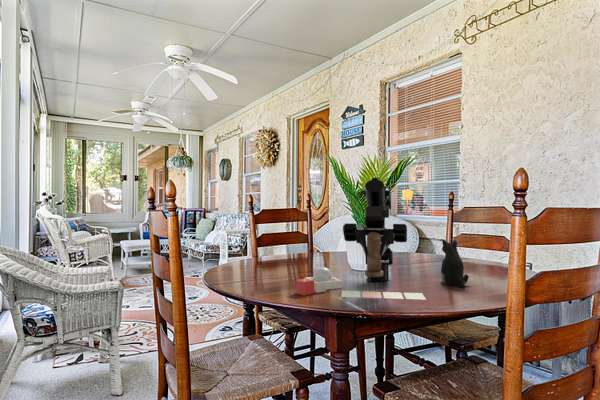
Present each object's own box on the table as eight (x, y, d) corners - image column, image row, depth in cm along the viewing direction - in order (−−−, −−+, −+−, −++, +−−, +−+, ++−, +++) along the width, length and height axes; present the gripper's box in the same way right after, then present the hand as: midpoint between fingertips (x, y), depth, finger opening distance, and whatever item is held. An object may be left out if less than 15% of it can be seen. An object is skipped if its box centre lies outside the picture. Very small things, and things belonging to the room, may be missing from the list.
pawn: (382, 273, 113) (382, 231, 113) (384, 277, 108) (383, 232, 108) (364, 273, 114) (364, 231, 114) (365, 276, 108) (365, 232, 108)
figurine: (463, 282, 131) (462, 238, 131) (477, 288, 121) (476, 241, 121) (435, 282, 130) (435, 238, 130) (447, 289, 121) (447, 241, 121)
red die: (305, 291, 119) (305, 278, 119) (314, 293, 116) (313, 280, 116) (295, 293, 116) (295, 279, 116) (304, 295, 113) (304, 281, 113)
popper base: (329, 284, 128) (329, 275, 128) (342, 290, 120) (342, 280, 120) (305, 286, 125) (304, 277, 125) (315, 292, 117) (315, 282, 117)
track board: (422, 294, 114) (422, 292, 114) (428, 303, 104) (428, 300, 104) (341, 292, 117) (341, 289, 117) (339, 300, 107) (339, 297, 107)
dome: (327, 282, 126) (327, 265, 127) (335, 285, 121) (335, 268, 121) (311, 283, 124) (310, 266, 124) (318, 287, 119) (318, 269, 119)
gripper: (343, 197, 117) (338, 236, 106) (406, 196, 112) (407, 237, 102) (347, 221, 125) (342, 260, 114) (406, 221, 120) (407, 262, 109)
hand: (373, 254), depth 109 cm, fingers closed on pawn, 4 cm apart
